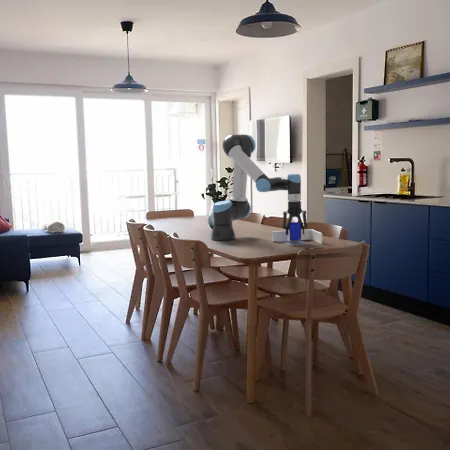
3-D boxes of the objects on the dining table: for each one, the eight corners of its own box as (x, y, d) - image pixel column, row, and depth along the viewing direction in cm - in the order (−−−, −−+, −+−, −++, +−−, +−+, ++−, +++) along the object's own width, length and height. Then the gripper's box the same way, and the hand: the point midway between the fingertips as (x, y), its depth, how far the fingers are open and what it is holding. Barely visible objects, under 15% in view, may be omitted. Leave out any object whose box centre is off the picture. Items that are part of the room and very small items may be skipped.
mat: (289, 245, 299) (289, 245, 299) (282, 241, 314) (282, 241, 314) (308, 244, 301) (308, 244, 301) (300, 240, 316) (300, 240, 316)
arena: (280, 246, 299) (279, 235, 299) (272, 241, 316) (271, 231, 315) (322, 243, 304) (322, 233, 303) (312, 238, 320) (312, 229, 320)
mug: (285, 242, 302) (285, 225, 301) (287, 238, 314) (287, 222, 313) (300, 242, 301) (300, 225, 299) (301, 238, 312) (301, 222, 311)
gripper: (279, 202, 299) (280, 242, 302) (313, 200, 302) (313, 240, 306) (276, 201, 306) (276, 240, 310) (308, 199, 310) (309, 238, 313)
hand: (294, 240), depth 308 cm, fingers closed on mug, 7 cm apart
